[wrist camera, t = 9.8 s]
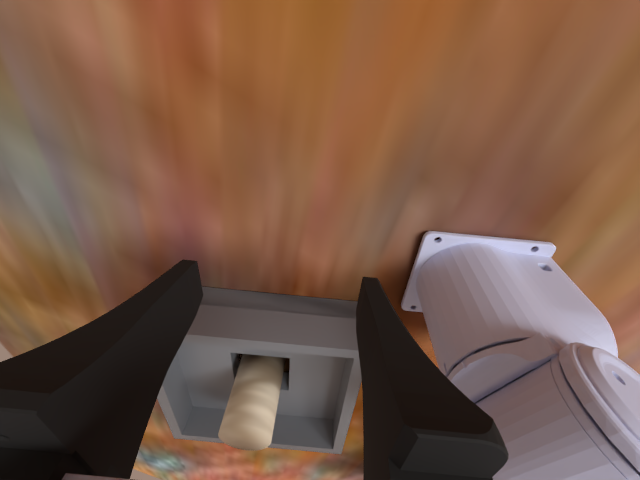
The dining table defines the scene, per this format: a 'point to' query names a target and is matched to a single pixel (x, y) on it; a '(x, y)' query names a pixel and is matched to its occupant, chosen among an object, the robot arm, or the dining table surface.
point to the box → (277, 341)
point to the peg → (253, 403)
